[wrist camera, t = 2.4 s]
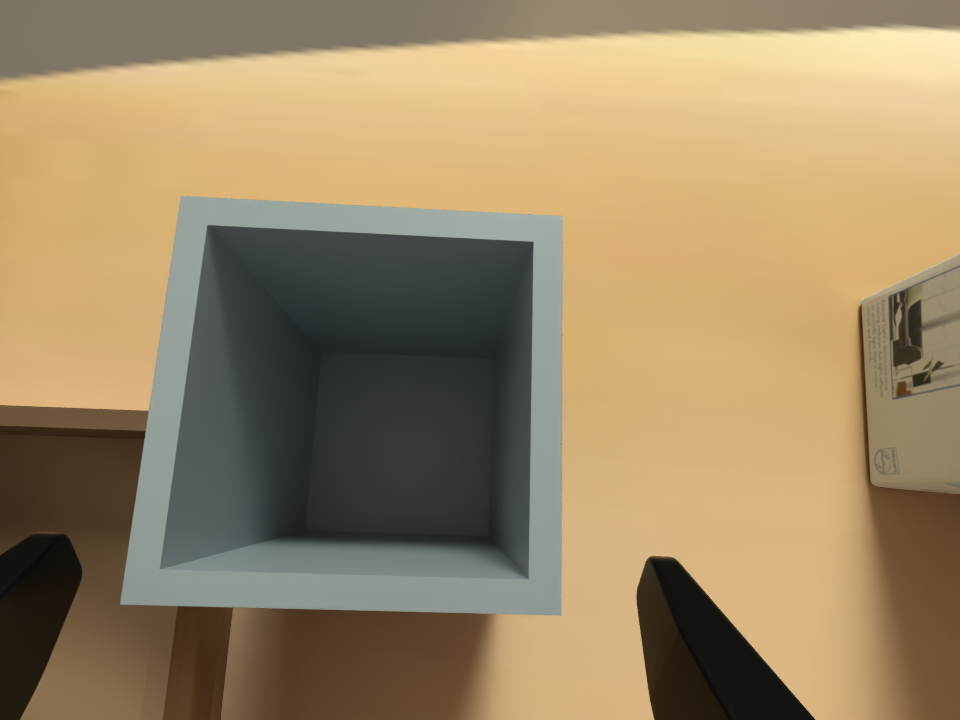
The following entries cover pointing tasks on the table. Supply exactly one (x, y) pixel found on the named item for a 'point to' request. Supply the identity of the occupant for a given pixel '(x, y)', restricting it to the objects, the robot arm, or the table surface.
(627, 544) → the table surface
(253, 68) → the table surface
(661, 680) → the robot arm
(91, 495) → the walnut crate
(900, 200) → the table surface
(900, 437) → the light bulb box
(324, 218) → the grey crate
